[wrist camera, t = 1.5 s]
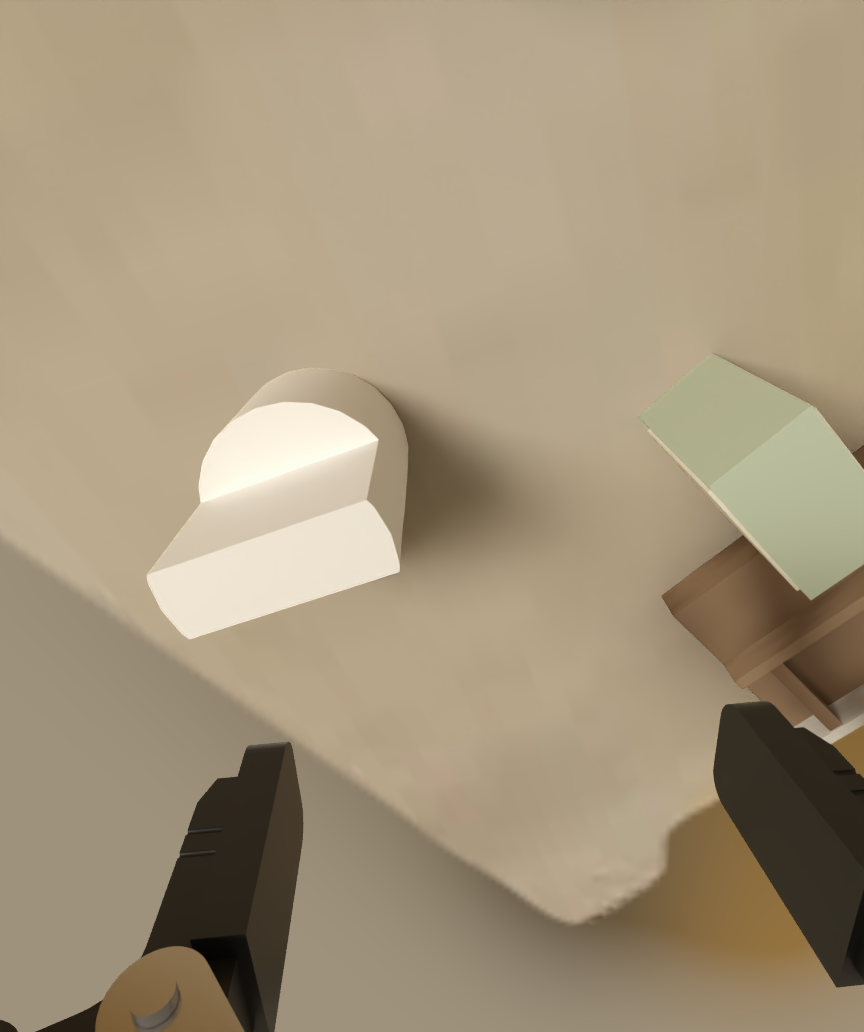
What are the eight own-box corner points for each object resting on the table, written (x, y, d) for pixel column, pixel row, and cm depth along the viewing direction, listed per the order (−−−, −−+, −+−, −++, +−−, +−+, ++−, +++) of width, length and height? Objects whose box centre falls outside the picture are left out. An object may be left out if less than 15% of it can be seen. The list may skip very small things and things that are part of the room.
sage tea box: (635, 418, 32) (704, 489, 24) (713, 350, 31) (815, 402, 23) (719, 509, 35) (807, 602, 27) (795, 451, 33) (914, 530, 25)
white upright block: (369, 340, 31) (338, 415, 20) (433, 499, 34) (436, 634, 24) (204, 403, 32) (90, 505, 21) (283, 549, 36) (221, 699, 25)
